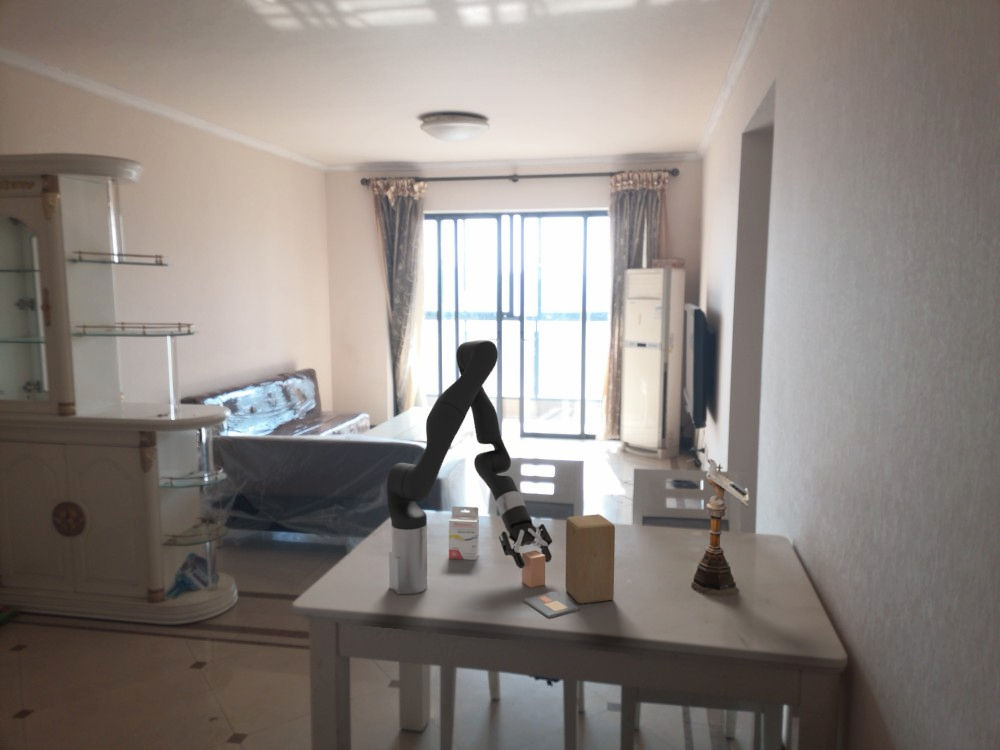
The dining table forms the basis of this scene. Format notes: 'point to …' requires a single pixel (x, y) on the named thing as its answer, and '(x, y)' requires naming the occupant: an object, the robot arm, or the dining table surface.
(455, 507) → the ink cartridge box
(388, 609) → the dining table surface
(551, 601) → the tile
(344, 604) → the dining table surface
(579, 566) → the wooden block
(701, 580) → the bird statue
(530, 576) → the terracotta block
